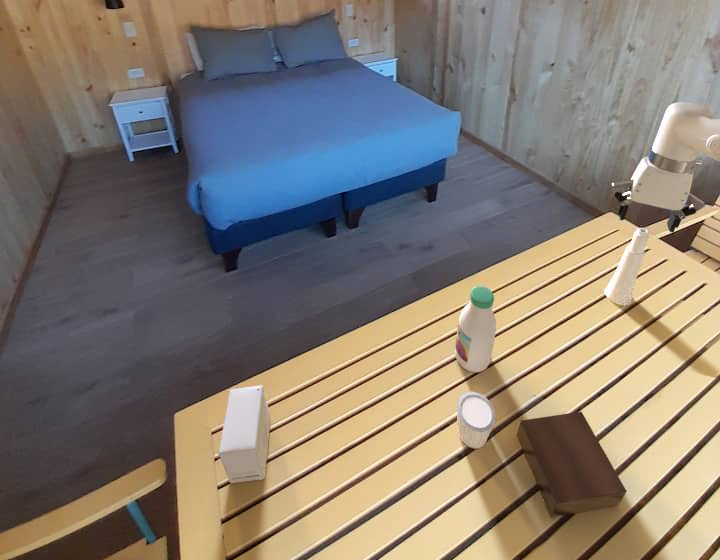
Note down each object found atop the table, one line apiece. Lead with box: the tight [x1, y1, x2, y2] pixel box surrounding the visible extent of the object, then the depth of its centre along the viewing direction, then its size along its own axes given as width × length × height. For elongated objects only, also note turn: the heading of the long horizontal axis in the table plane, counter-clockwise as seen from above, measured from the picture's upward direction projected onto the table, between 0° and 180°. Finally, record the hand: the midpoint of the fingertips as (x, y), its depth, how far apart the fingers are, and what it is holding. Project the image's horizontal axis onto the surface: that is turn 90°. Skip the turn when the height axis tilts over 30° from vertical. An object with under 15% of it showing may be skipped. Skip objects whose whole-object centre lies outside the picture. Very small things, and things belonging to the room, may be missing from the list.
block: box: [516, 411, 627, 518], centre depth 70 cm, size 12×12×5 cm
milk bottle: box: [454, 285, 497, 373], centre depth 85 cm, size 8×8×20 cm
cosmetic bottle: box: [604, 227, 650, 307], centre depth 98 cm, size 6×6×22 cm
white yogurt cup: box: [456, 391, 496, 450], centre depth 75 cm, size 7×7×7 cm
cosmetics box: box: [218, 384, 271, 484], centre depth 72 cm, size 10×6×10 cm, turn 5°
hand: (644, 222), depth 93 cm, fingers open, 9 cm apart
